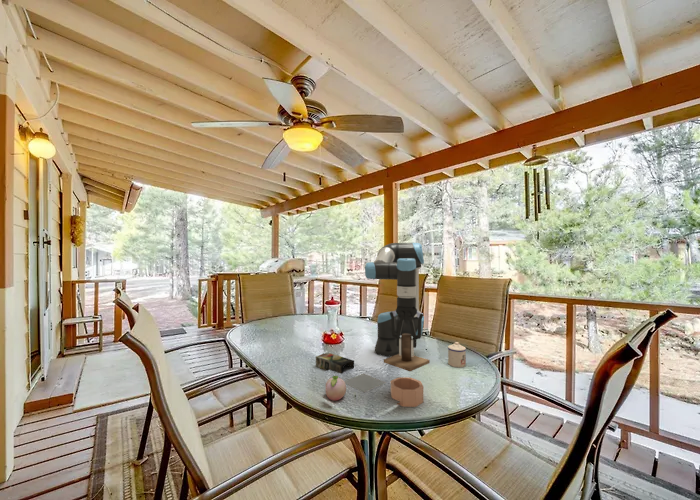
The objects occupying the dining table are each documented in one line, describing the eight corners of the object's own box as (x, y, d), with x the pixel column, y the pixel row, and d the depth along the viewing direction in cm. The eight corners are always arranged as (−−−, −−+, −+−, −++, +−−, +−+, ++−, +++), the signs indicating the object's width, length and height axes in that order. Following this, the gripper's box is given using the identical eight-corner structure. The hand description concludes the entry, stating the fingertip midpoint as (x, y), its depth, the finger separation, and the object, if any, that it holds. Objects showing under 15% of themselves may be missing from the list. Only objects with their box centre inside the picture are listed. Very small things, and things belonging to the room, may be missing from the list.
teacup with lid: (464, 369, 152) (464, 346, 152) (446, 365, 157) (446, 343, 157) (468, 361, 163) (468, 340, 163) (450, 358, 167) (450, 337, 167)
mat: (341, 385, 134) (341, 381, 134) (363, 376, 143) (363, 373, 143) (364, 396, 123) (364, 392, 123) (386, 386, 133) (386, 382, 133)
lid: (383, 362, 122) (383, 334, 122) (403, 355, 130) (403, 329, 131) (410, 371, 112) (410, 341, 112) (429, 363, 121) (429, 334, 121)
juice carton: (313, 366, 156) (313, 354, 156) (327, 361, 164) (327, 350, 164) (341, 377, 143) (341, 364, 143) (354, 372, 150) (355, 359, 150)
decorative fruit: (346, 406, 115) (346, 380, 115) (325, 407, 115) (325, 381, 115) (345, 395, 125) (345, 370, 125) (325, 395, 124) (325, 371, 124)
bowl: (384, 398, 122) (384, 383, 122) (403, 388, 130) (403, 374, 130) (410, 410, 113) (410, 394, 113) (428, 399, 121) (428, 384, 121)
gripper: (383, 297, 121) (383, 355, 120) (427, 298, 116) (427, 360, 115) (387, 294, 128) (387, 350, 128) (428, 296, 123) (428, 354, 122)
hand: (406, 354), depth 121 cm, fingers closed on lid, 4 cm apart
